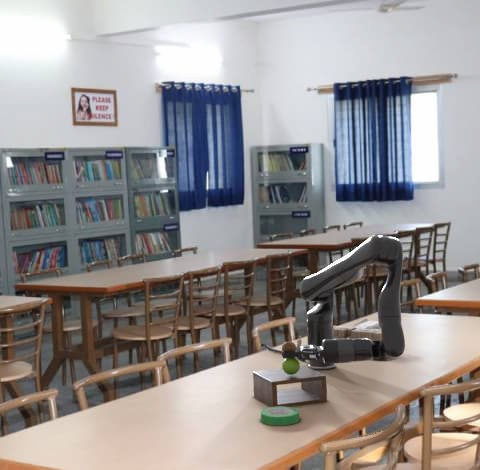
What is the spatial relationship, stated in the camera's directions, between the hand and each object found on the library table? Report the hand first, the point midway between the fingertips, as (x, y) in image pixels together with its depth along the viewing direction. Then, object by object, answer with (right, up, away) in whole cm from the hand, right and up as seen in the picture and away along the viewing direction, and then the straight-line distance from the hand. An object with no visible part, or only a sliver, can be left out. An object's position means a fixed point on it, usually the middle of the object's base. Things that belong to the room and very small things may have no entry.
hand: (282, 353), depth 290 cm
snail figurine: (+3, -7, 0) cm, 7 cm away
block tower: (+38, -8, +77) cm, 86 cm away
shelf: (+3, -15, +4) cm, 15 cm away
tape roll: (-3, -17, -19) cm, 26 cm away
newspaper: (+46, -5, +106) cm, 116 cm away
